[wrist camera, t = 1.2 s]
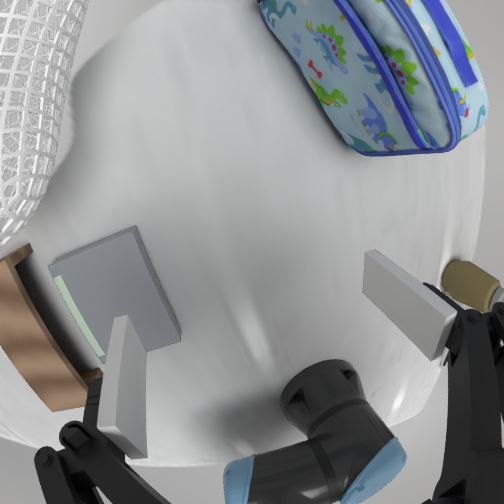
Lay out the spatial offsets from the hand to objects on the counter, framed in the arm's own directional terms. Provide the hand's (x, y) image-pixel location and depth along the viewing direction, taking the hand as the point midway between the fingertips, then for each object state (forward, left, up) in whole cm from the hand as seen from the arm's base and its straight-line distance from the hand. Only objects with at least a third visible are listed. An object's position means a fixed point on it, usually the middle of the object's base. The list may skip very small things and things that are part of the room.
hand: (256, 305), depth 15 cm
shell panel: (-5, +15, -22) cm, 27 cm away
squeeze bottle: (-25, -41, -21) cm, 52 cm away
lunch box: (+16, -20, -21) cm, 33 cm away
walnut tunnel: (-5, +28, -21) cm, 36 cm away
